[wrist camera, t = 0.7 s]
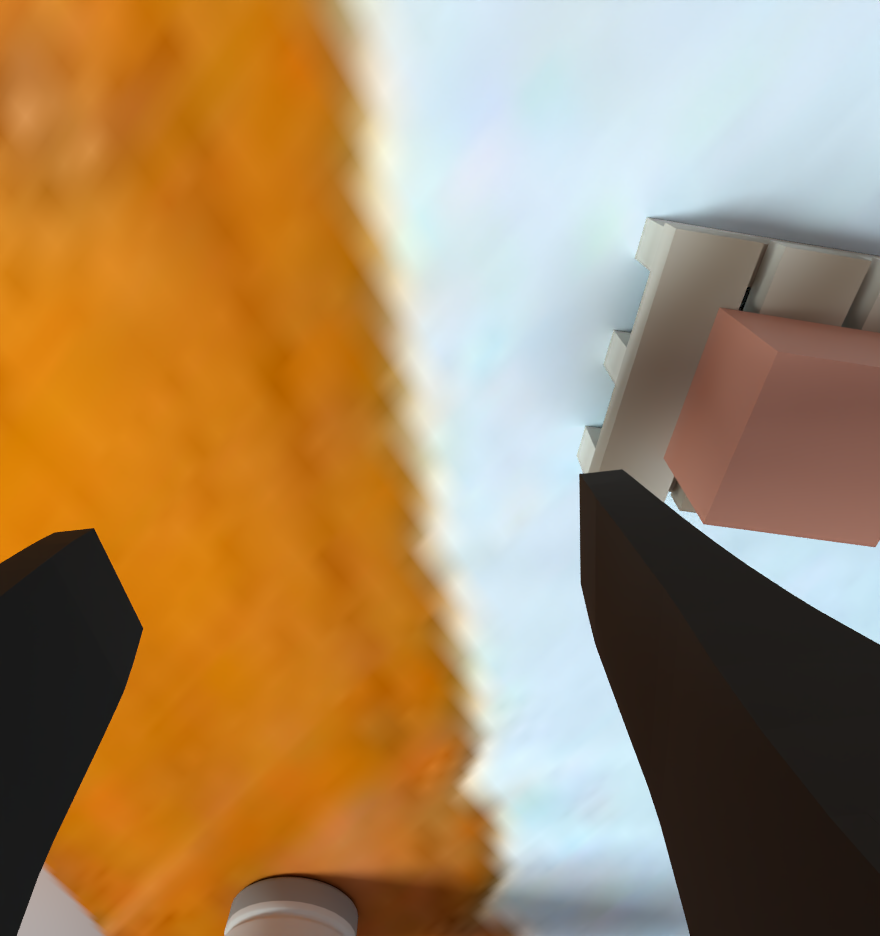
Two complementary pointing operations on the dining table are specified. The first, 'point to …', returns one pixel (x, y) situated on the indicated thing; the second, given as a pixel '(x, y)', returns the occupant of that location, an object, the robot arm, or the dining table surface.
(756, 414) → the salmon pink block
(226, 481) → the dining table surface
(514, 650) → the dining table surface
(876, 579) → the dining table surface
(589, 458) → the pallet
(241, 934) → the travel mug
